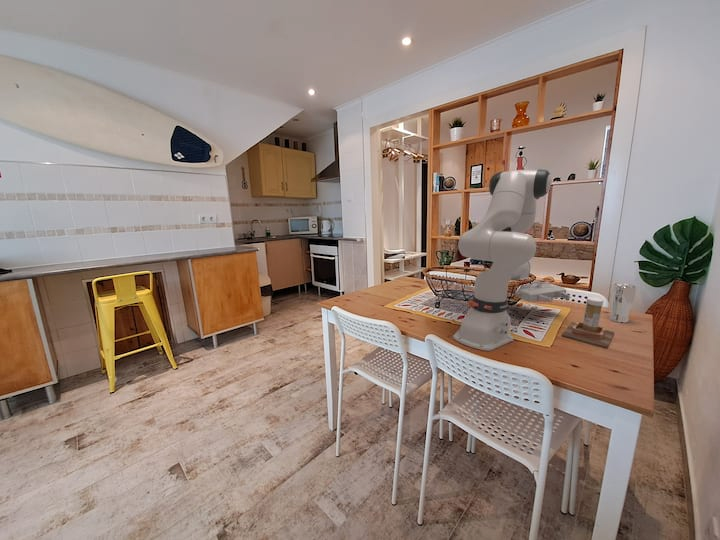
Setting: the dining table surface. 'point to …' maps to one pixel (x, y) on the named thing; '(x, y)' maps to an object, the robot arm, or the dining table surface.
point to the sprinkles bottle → (592, 314)
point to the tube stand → (588, 335)
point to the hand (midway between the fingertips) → (560, 299)
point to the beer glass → (622, 301)
